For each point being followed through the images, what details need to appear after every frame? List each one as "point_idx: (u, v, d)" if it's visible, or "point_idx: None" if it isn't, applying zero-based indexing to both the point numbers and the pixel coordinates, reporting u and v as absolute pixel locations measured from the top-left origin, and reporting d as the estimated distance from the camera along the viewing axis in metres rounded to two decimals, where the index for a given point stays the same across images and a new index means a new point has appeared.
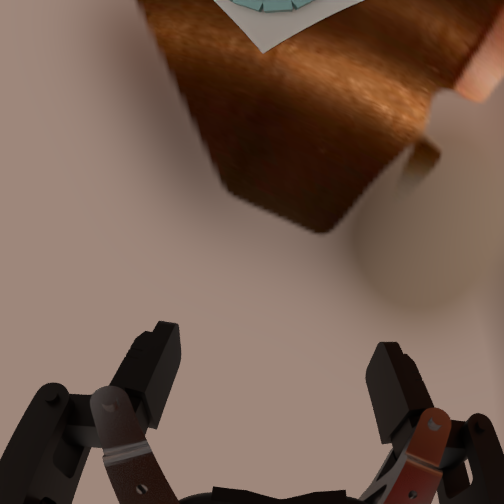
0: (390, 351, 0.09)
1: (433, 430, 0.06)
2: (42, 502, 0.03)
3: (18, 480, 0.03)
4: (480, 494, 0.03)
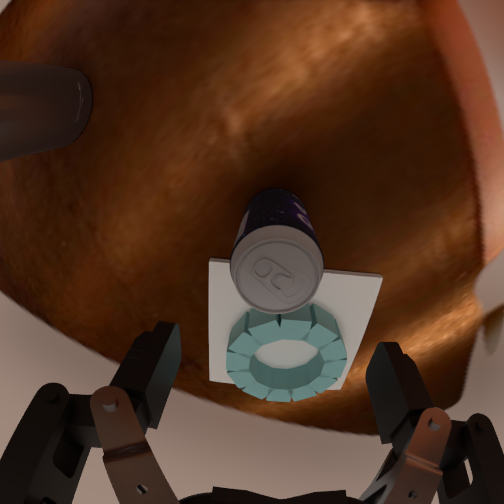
0: (390, 351, 0.09)
1: (433, 430, 0.06)
2: (42, 502, 0.03)
3: (18, 480, 0.03)
4: (480, 494, 0.03)
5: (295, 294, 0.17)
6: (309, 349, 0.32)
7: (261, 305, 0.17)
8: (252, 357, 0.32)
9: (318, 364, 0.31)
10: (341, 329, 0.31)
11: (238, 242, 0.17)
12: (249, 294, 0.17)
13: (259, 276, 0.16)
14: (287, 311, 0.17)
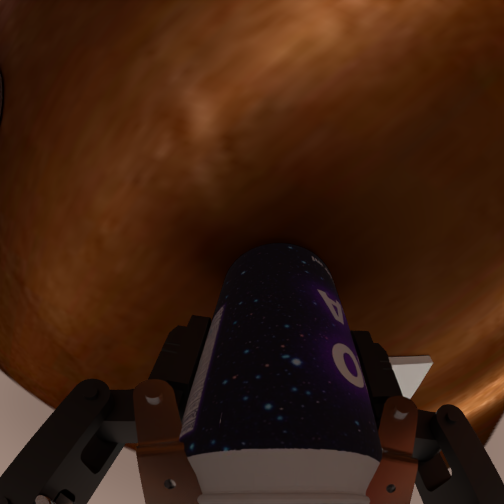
0: (359, 339, 0.10)
1: (397, 418, 0.06)
2: (60, 494, 0.04)
3: (39, 470, 0.04)
4: (463, 486, 0.04)
5: None
6: None
7: None
8: None
9: None
10: None
11: None
12: None
13: None
14: None
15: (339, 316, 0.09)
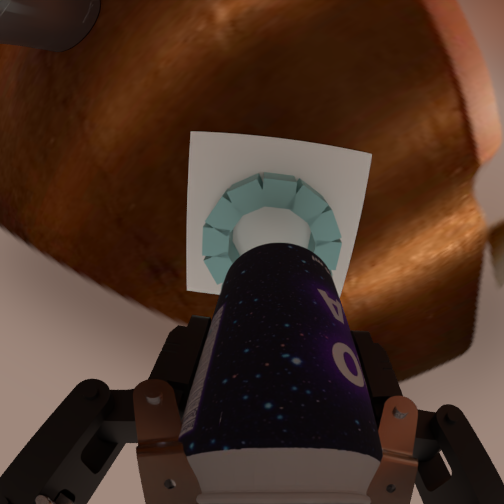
0: (359, 339, 0.10)
1: (397, 418, 0.06)
2: (60, 494, 0.04)
3: (39, 470, 0.04)
4: (463, 486, 0.04)
5: None
6: (298, 241, 0.30)
7: None
8: (233, 248, 0.30)
9: None
10: None
11: None
12: None
13: None
14: None
15: (339, 315, 0.09)
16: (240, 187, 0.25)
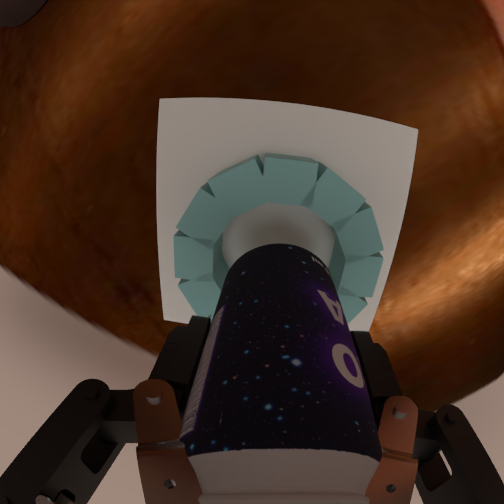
0: (359, 339, 0.10)
1: (397, 418, 0.06)
2: (60, 494, 0.04)
3: (39, 470, 0.04)
4: (463, 486, 0.04)
5: None
6: (317, 255, 0.21)
7: None
8: (223, 266, 0.21)
9: (333, 277, 0.19)
10: None
11: None
12: None
13: None
14: None
15: (339, 316, 0.09)
16: (228, 172, 0.15)
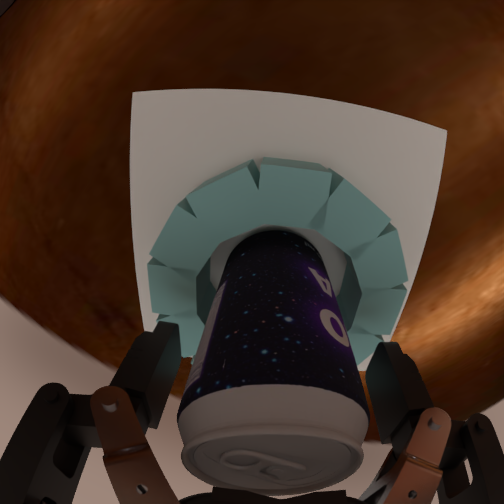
0: (390, 351, 0.09)
1: (433, 430, 0.06)
2: (42, 502, 0.03)
3: (18, 480, 0.03)
4: (480, 494, 0.03)
5: (306, 477, 0.07)
6: None
7: (242, 486, 0.07)
8: (211, 295, 0.17)
9: (344, 310, 0.16)
10: None
11: (187, 401, 0.07)
12: (218, 477, 0.07)
13: (235, 467, 0.06)
14: (289, 493, 0.07)
15: (328, 290, 0.11)
16: (212, 185, 0.12)
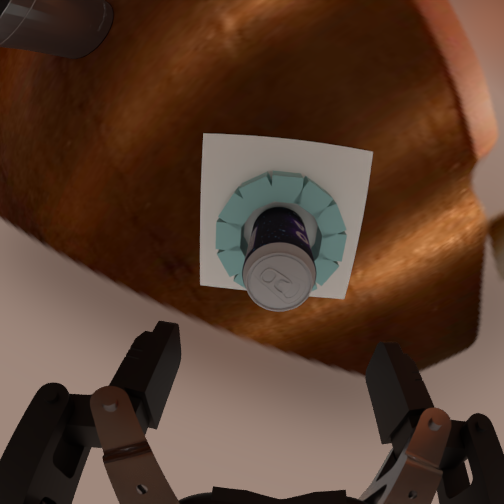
0: (390, 351, 0.09)
1: (433, 430, 0.06)
2: (42, 502, 0.03)
3: (18, 480, 0.03)
4: (480, 494, 0.03)
5: (293, 296, 0.21)
6: None
7: (267, 304, 0.22)
8: (245, 243, 0.32)
9: (316, 249, 0.30)
10: None
11: (249, 255, 0.21)
12: (257, 295, 0.21)
13: (265, 281, 0.21)
14: (287, 309, 0.22)
15: (301, 229, 0.26)
16: (251, 184, 0.26)
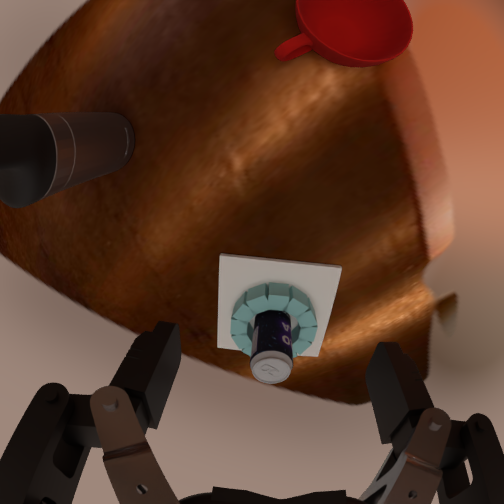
0: (390, 351, 0.09)
1: (433, 430, 0.06)
2: (42, 502, 0.03)
3: (18, 480, 0.03)
4: (480, 494, 0.03)
5: (279, 376, 0.35)
6: (291, 321, 0.46)
7: (264, 380, 0.36)
8: (249, 326, 0.46)
9: (297, 332, 0.44)
10: (313, 305, 0.44)
11: (254, 355, 0.35)
12: (258, 376, 0.35)
13: (263, 370, 0.35)
14: (275, 382, 0.35)
15: (286, 329, 0.40)
16: (254, 299, 0.40)
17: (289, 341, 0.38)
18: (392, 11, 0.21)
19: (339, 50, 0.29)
